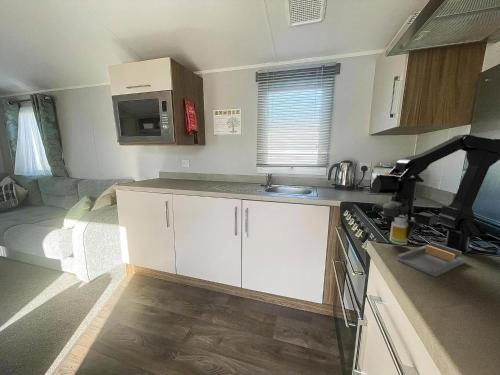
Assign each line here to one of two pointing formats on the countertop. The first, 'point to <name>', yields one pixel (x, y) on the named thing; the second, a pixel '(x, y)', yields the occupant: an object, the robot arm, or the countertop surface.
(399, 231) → the supplement bottle
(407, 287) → the countertop surface
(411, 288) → the countertop surface
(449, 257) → the bar
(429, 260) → the grey tray
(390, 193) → the robot arm
